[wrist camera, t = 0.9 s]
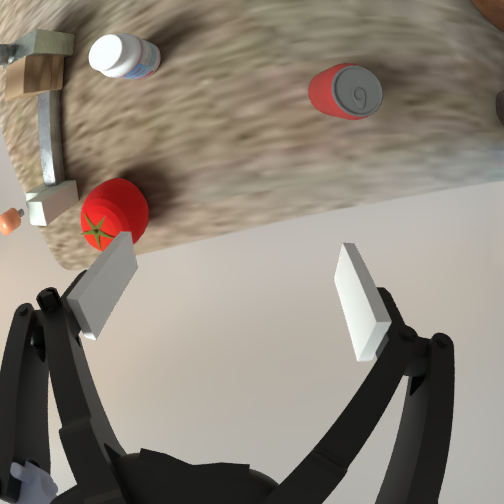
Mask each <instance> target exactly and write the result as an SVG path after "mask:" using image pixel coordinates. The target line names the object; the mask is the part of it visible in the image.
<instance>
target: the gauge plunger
mask: <svg viewBox="0 0 504 504" xmlns="http://www.w3.org/2000/svg"><path fill="white" fill-rule="evenodd" d="M23 215H24V211H23V209H20V210H19V211H17V210H16V209H15V208H11V209H9V210H8V211H6V212H5V213H3V214H2V215H0V231H1V232H2V233H3V234H4V235H6V236H7V235H9V234H10V233H11V232H12V231H14V230H15V229H16V228H17V227H19V226H20V223H21V219H20V217H22V216H23Z"/></svg>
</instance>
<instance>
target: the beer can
mask: <svg viewBox="0 0 504 504" xmlns="http://www.w3.org/2000/svg"><path fill="white" fill-rule="evenodd" d="M308 91H309V98H310V100H311V103H312V104H313V105H314V107H315V108H316V109H317V110H319V111H320V112H322V113H324V114H327V115H331V116H335V117H340V118H344V119H348V120H359V119H363V118H366V117H368V116H369V115H371V114H373V113H374V112H375V111H377V109H378V108H379V107H380V105H381V103H382V99H383V89H382V86H381V83H380V81H379V79H378V78H377V77H376V75H375V74H374V73H372V72H371V71H370V70H369V69H367V68H364V67H362V66H359V65H357V64H350V63H343V64H339V65H336V66H334V67H331V68H329V69H327V70H325V71H323V72H321V73H319V74H318V75H316V76H315V77H314V78H313V79H312V81H311V82H310V85H309V89H308Z"/></svg>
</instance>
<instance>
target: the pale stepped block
mask: <svg viewBox="0 0 504 504" xmlns="http://www.w3.org/2000/svg"><path fill="white" fill-rule="evenodd" d="M25 194H26V199H27V202H26V204H27V208H28V212H29V217H30V221H31V225H44V226H47V225H48V224H49V223H50V222H52V221H53V220H54V219H56V218H57V217H58V216H59V215H61V214H62V213H63V212H65V211H66V210H67V209H69V208H70V207H71V206H73V205H74V204H76V203H77V202H78V201H79V198H78V191H77V184H76V180H70V181H64V182H62V183H61V184H59V185H57V186H51V187H45V184H44V183H42V184H40V185H39V186H37V187H35V188H34V189H32V190H30V191H29V192H27V193H25Z"/></svg>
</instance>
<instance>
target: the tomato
mask: <svg viewBox="0 0 504 504" xmlns="http://www.w3.org/2000/svg"><path fill="white" fill-rule="evenodd" d="M148 217H149V208H148V204H147V201H146V199H145V198H144V196H143V194H142V193H141V191H140V190H139V189H138V188H137V187H136V186H135V185H134V184H133V183H131V182H130V181H128V180H125V179H121V178H114V179H111V180H108V181H105V182H104V183H102V184H101V185H99V186H97V187H96V188H95V189H94V190H92V191H91V192H90V194H89V195H88V196H87V198H86V200H85V202H84V204H83V207H82V211H81V226H82V231H83V233H82V234H83V235H84V236H85V238H86V240H87V241H88V243H89V244H90V245H92V246H93V247H94V248H96V249H98V250H100V251H104V250H105V249H106V248H107V246H108V245H109V244H110V243H111V242H112V241H113V240H114V238H115V237H116V236H117V235H118V234H119V233H120V232H121V231H122V232H131V236H132V241H133V244H134V243H136V242H137V241H138V240H139V238H140V237H141V236H142V235H143V233H144V231H145V229H146V227H147V224H148Z"/></svg>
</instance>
